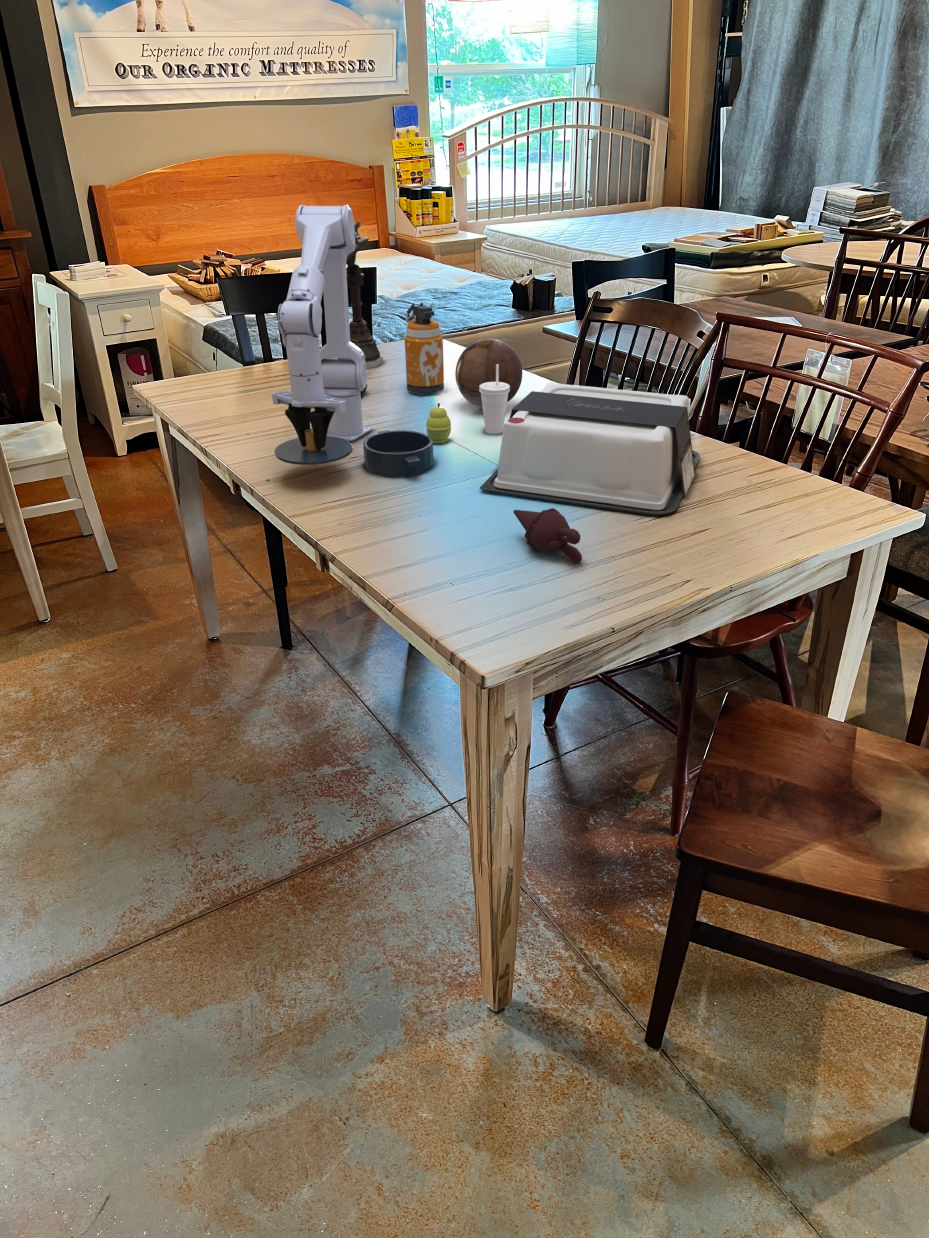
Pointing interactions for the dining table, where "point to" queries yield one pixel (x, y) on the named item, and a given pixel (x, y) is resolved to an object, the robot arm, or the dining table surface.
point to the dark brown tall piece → (358, 326)
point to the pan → (398, 453)
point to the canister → (423, 352)
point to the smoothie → (494, 404)
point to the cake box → (598, 449)
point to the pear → (438, 425)
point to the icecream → (549, 532)
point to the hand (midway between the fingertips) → (313, 446)
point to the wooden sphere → (487, 368)
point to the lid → (313, 450)
